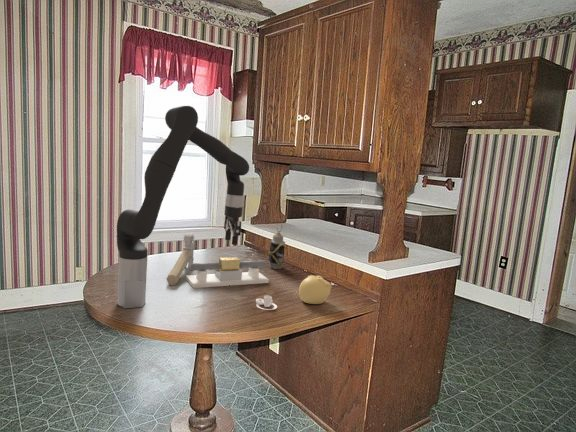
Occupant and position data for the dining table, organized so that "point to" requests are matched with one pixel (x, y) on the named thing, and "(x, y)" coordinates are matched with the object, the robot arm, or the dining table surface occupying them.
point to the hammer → (182, 260)
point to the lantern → (276, 251)
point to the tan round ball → (314, 289)
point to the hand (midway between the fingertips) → (231, 242)
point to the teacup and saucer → (265, 302)
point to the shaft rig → (226, 275)
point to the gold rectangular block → (229, 264)
